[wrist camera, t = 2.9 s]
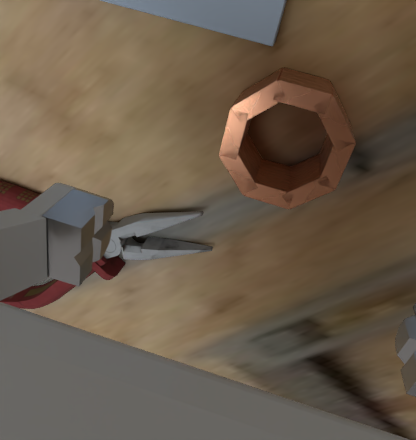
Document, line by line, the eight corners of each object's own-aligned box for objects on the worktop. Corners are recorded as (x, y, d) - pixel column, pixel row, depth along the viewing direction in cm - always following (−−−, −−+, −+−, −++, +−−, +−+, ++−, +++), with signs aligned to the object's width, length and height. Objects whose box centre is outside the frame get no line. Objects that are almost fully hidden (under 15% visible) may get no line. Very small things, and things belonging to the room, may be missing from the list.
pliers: (228, 288, 29) (221, 312, 27) (13, 295, 35) (-7, 315, 33) (192, 141, 24) (179, 156, 22) (-52, 179, 30) (-81, 193, 28)
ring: (363, 89, 20) (372, 105, 17) (321, 190, 23) (322, 219, 20) (250, 58, 20) (240, 69, 17) (224, 161, 24) (211, 185, 21)
